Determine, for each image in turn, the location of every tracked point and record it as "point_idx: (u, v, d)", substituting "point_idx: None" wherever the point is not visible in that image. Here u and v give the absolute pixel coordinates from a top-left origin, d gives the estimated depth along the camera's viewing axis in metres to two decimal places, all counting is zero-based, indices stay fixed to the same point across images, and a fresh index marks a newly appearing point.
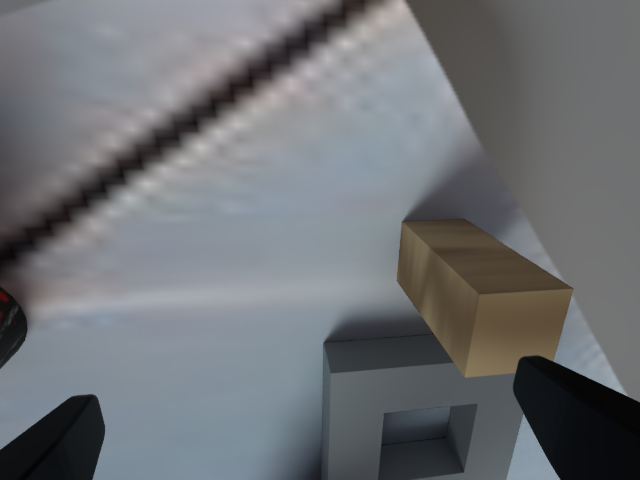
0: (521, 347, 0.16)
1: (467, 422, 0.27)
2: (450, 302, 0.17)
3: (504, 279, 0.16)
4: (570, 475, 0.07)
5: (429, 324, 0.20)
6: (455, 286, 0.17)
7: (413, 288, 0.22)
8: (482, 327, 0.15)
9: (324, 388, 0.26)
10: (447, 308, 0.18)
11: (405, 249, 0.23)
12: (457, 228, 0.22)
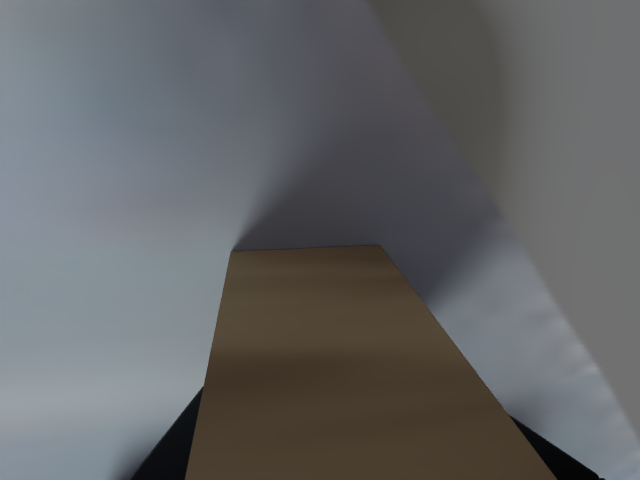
0: None
1: None
2: None
3: None
4: None
5: None
6: None
7: None
8: None
9: None
10: None
11: None
12: (347, 271, 0.09)
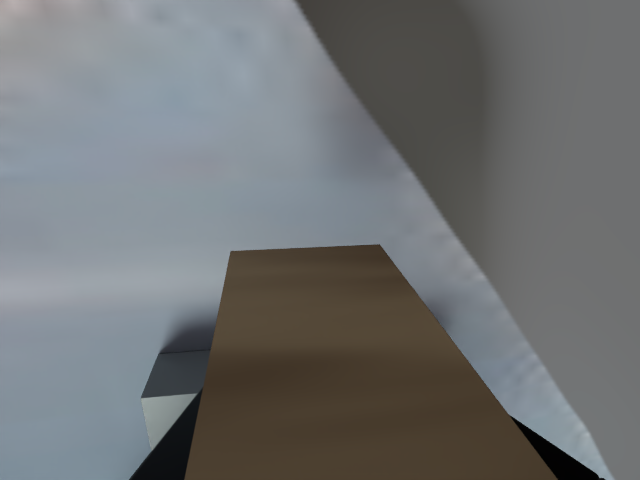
0: None
1: None
2: None
3: None
4: None
5: None
6: None
7: None
8: None
9: None
10: None
11: None
12: (347, 271, 0.09)
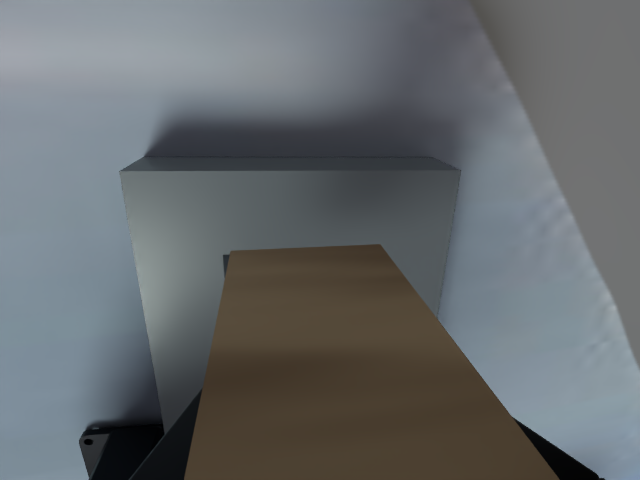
0: None
1: None
2: None
3: None
4: None
5: None
6: None
7: None
8: None
9: None
10: None
11: None
12: (348, 270, 0.09)
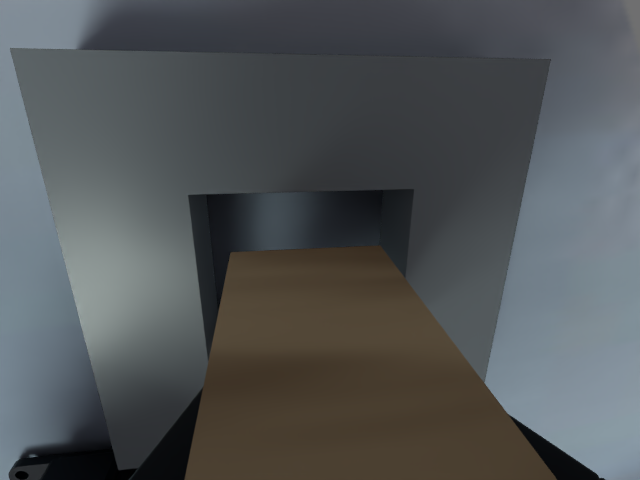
0: None
1: (399, 254, 0.13)
2: None
3: None
4: None
5: None
6: None
7: None
8: None
9: None
10: None
11: None
12: (347, 271, 0.09)
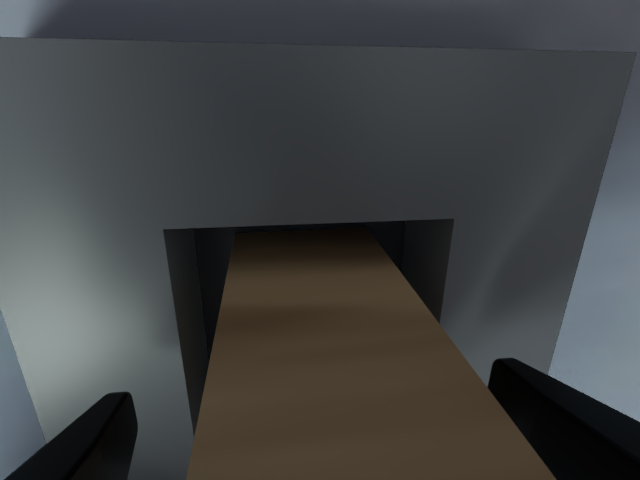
0: None
1: (429, 295, 0.10)
2: None
3: (344, 468, 0.04)
4: None
5: None
6: None
7: None
8: None
9: None
10: None
11: None
12: (336, 247, 0.10)
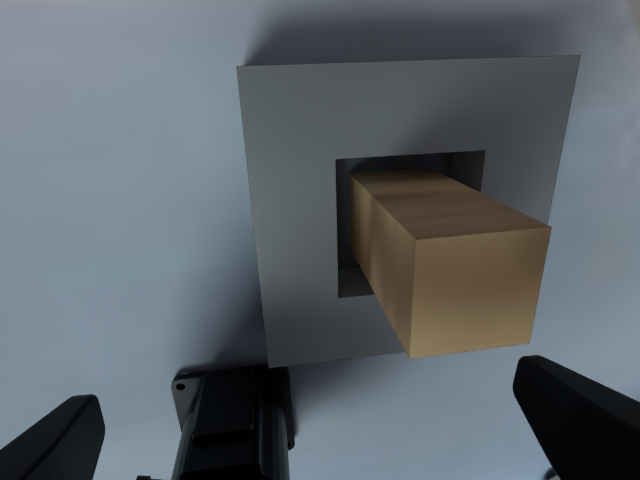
0: (485, 314, 0.12)
1: None
2: (391, 259, 0.13)
3: (457, 221, 0.12)
4: (570, 475, 0.07)
5: (376, 294, 0.15)
6: (394, 236, 0.12)
7: (362, 252, 0.17)
8: (425, 287, 0.11)
9: None
10: (389, 268, 0.13)
11: (353, 206, 0.18)
12: (415, 175, 0.18)
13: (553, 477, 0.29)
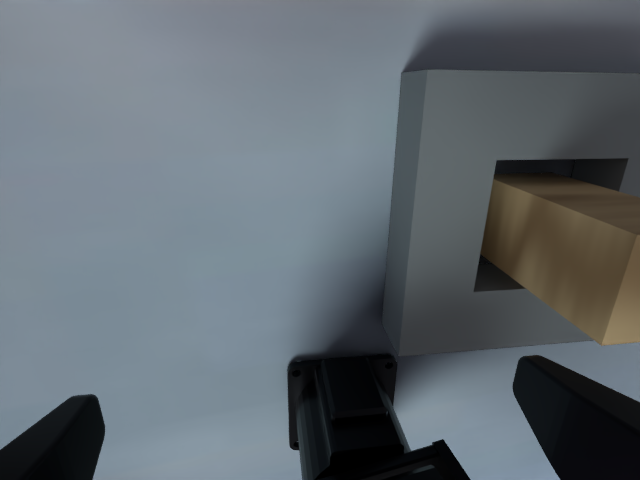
0: None
1: None
2: (574, 254, 0.14)
3: None
4: (570, 475, 0.07)
5: (530, 288, 0.16)
6: (584, 233, 0.13)
7: (501, 249, 0.18)
8: (632, 279, 0.12)
9: (401, 145, 0.18)
10: (567, 262, 0.14)
11: None
12: (549, 179, 0.19)
13: None
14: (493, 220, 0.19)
